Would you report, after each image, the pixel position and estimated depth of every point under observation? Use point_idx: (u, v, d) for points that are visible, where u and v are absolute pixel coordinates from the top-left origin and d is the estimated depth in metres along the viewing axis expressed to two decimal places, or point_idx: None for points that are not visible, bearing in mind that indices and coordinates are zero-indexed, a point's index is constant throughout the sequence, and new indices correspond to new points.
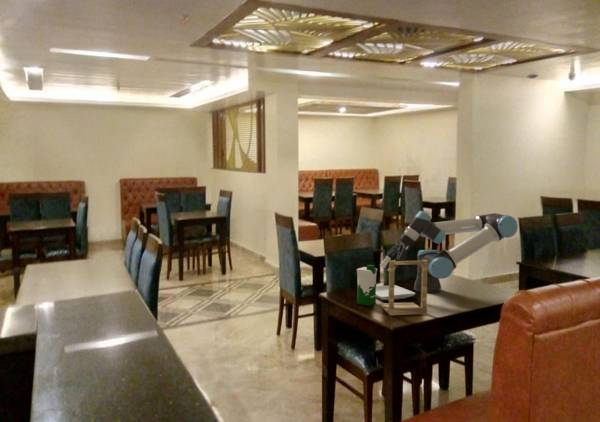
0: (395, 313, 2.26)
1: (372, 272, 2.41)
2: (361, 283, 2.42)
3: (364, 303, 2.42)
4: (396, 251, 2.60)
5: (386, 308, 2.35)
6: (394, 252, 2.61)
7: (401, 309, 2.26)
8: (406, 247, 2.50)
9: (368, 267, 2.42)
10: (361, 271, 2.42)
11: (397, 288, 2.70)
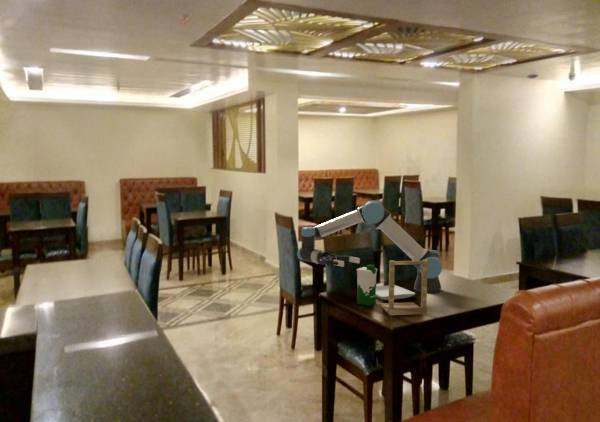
0: (395, 313, 2.26)
1: (372, 272, 2.41)
2: (361, 283, 2.42)
3: (364, 303, 2.42)
4: (339, 258, 2.61)
5: (386, 308, 2.35)
6: (341, 258, 2.61)
7: (401, 309, 2.26)
8: (320, 260, 2.56)
9: (368, 267, 2.42)
10: (361, 271, 2.42)
11: (397, 288, 2.70)
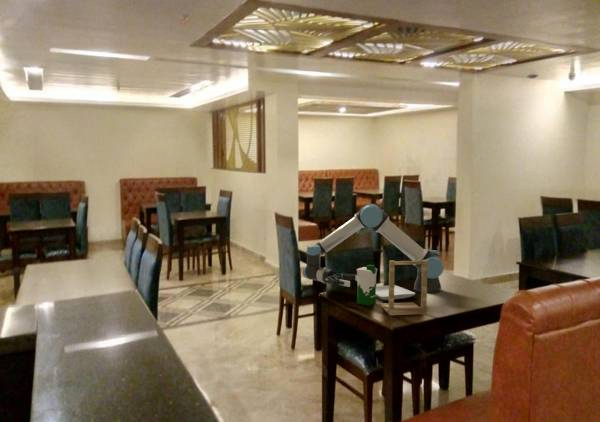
0: (395, 313, 2.26)
1: (372, 272, 2.41)
2: (361, 283, 2.42)
3: (364, 303, 2.42)
4: (344, 276, 2.59)
5: (386, 308, 2.35)
6: (347, 277, 2.58)
7: (401, 309, 2.26)
8: (326, 280, 2.54)
9: (368, 267, 2.42)
10: (361, 271, 2.42)
11: (397, 288, 2.70)
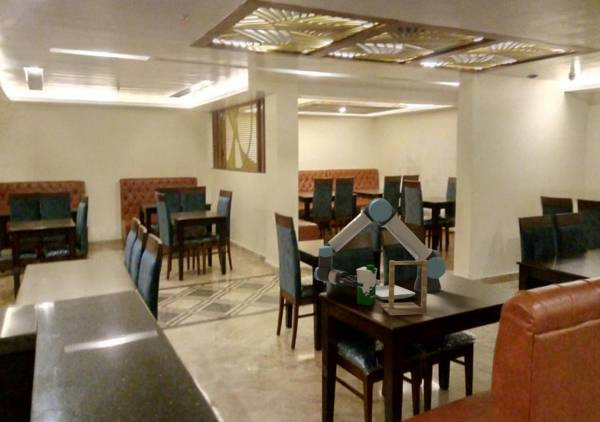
0: (395, 313, 2.26)
1: (372, 272, 2.40)
2: None
3: (364, 303, 2.42)
4: None
5: (386, 308, 2.35)
6: None
7: (401, 309, 2.26)
8: (341, 282, 2.48)
9: (368, 267, 2.42)
10: (361, 271, 2.42)
11: (397, 288, 2.70)
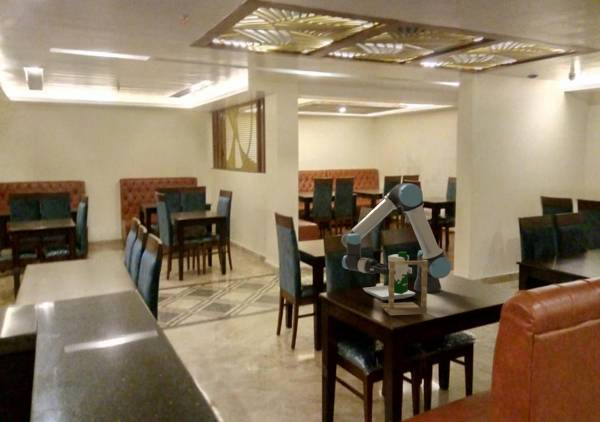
0: (395, 313, 2.26)
1: (404, 259, 2.32)
2: None
3: (396, 291, 2.34)
4: (388, 267, 2.43)
5: (386, 308, 2.35)
6: None
7: (401, 309, 2.26)
8: (371, 270, 2.39)
9: (400, 254, 2.33)
10: (393, 258, 2.33)
11: None
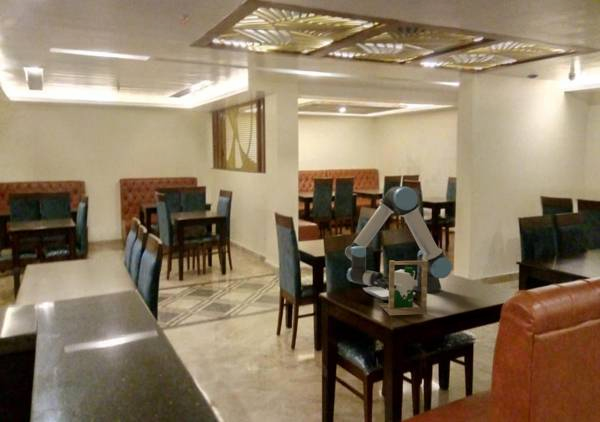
0: (395, 313, 2.26)
1: (410, 275, 2.32)
2: None
3: (401, 307, 2.33)
4: None
5: (386, 308, 2.35)
6: None
7: (401, 309, 2.26)
8: (375, 283, 2.39)
9: (406, 269, 2.33)
10: (399, 274, 2.33)
11: None
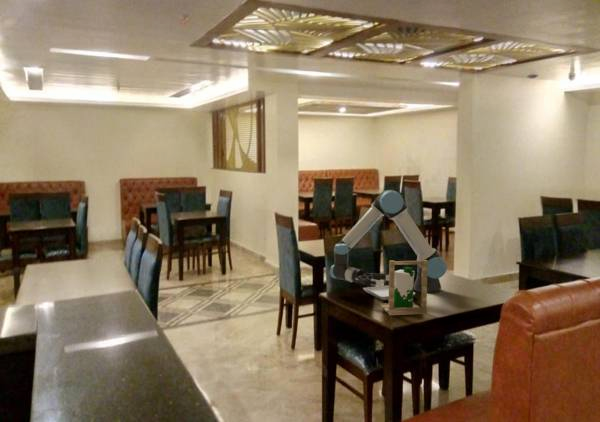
0: (395, 313, 2.26)
1: (410, 275, 2.32)
2: (398, 286, 2.33)
3: (401, 307, 2.33)
4: (374, 276, 2.52)
5: (386, 308, 2.35)
6: (377, 277, 2.52)
7: (401, 309, 2.26)
8: (356, 279, 2.47)
9: (406, 270, 2.33)
10: (398, 274, 2.33)
11: None
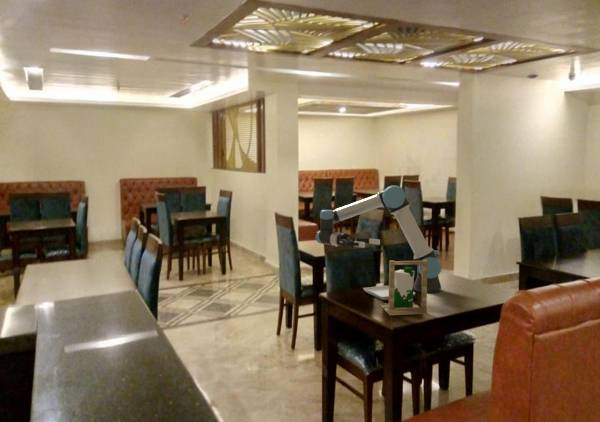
0: (395, 313, 2.26)
1: (410, 275, 2.32)
2: (398, 286, 2.33)
3: (401, 307, 2.33)
4: (358, 240, 2.60)
5: (386, 308, 2.35)
6: (361, 240, 2.59)
7: (401, 309, 2.26)
8: (340, 242, 2.55)
9: (406, 270, 2.33)
10: (398, 274, 2.33)
11: None
